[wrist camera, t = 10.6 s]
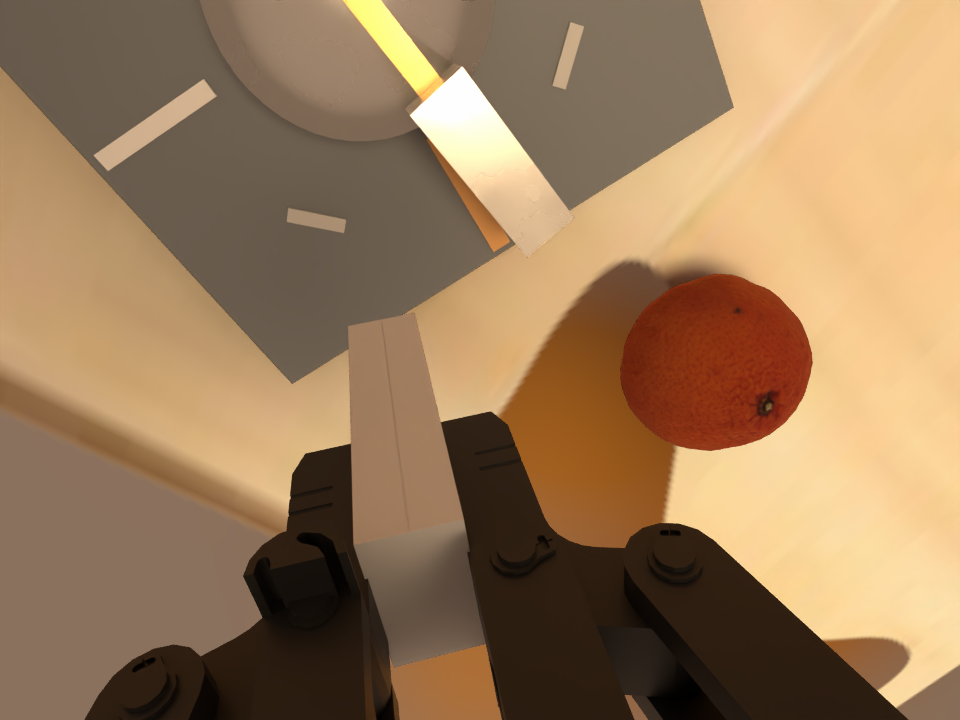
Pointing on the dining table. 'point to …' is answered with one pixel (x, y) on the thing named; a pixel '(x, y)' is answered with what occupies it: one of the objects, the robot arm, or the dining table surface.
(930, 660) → the dining table surface
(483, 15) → the dial
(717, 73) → the panel
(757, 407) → the fruit
